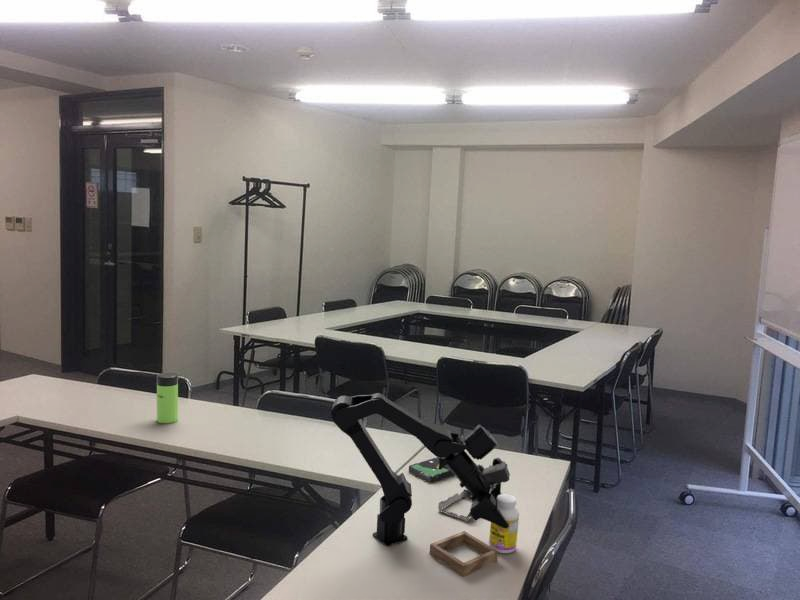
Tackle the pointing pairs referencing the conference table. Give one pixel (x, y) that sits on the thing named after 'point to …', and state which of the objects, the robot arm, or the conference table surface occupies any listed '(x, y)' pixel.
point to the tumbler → (167, 397)
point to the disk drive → (430, 470)
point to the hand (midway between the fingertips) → (508, 520)
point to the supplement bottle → (507, 537)
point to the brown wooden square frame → (462, 568)
